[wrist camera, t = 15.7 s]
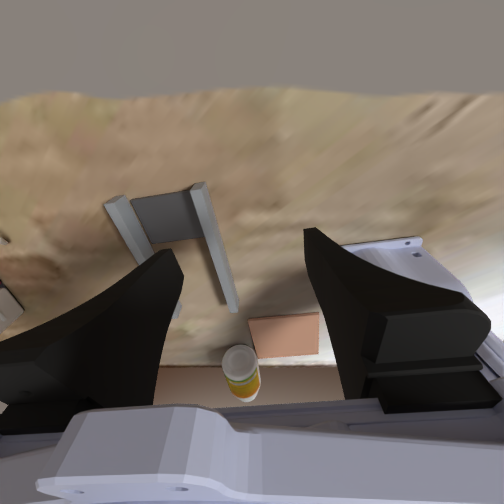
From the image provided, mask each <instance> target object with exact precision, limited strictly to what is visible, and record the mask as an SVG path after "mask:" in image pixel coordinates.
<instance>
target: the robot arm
mask: <svg viewBox="0 0 504 504" xmlns="http://www.w3.org/2000/svg"><path fill="white" fill-rule="evenodd" d="M303 230H304V254H305V263H306V268H307V272H308V276H309V278H310V281H311V284H312V286H313V289H314V291H315V294H316V297H317V299H318V302H319V304H320V307H321V309H322V312H323V315H324V318H325V321H326V325H327V329H328V332H329V336H330V340H331V344H332V348H333V351H334V355H335V359H336V363H337V367H338V371H339V375H340V380H341V384H342V388H343V392H344V397H345V400H337V401H321V402H305V403H291V404H274V405H258V406H243V407H228V408H227V407H226V408H209V407H205V406H201V405H198V404H163V405H153V399H154V392H155V386H156V380H157V374H158V369H159V364H160V359H161V354H162V350H163V346H164V341H165V337H166V334H167V330H168V327H169V324H170V322H171V319H172V316H173V313H174V311H175V308H176V305H177V302H178V300H179V297H180V294H181V290H182V285H183V280H184V275H183V273H182V270H181V268H180V266H179V264H178V262H177V260H176V258H175V255H174V253H173V251H172V249H171V248H170V249H163V250H160V251H158V252H156V253H155V254H154V255H152V256H151V257H149V258H148V259H147V260H146V261H144V262H143V263H142V264H140V265H139V266H138V267H137V268H135V269H134V270H133V271H131V272H130V273H129V274H127V275H126V276H125V277H123V278H122V279H121V280H119V281H118V282H116V283H115V284H114V285H112V286H111V287H109V288H108V289H106V290H105V291H103V292H102V293H100V294H98V295H97V296H95V297H94V298H92V299H90V300H89V301H87V302H85V303H83V304H81V305H80V306H78V307H76V308H74V309H72V310H70V311H69V312H67V313H65V314H63V315H61V316H59V317H57V318H55V319H52V320H50V321H48V322H46V323H44V324H42V325H39V326H37V327H35V328H33V329H30V330H28V331H25V332H23V333H21V334H18V335H16V336H13V337H11V338H9V339H6V340H3V341H1V342H0V401H1V402H3V403H6V404H7V405H8V406H7V408H6V409H5V410H4V411H3V413H2V414H0V504H504V343H503V342H502V341H501V340H500V339H499V338H498V337H497V336H496V335H495V334H494V333H493V332H492V331H490V330H491V321H490V319H489V318H488V316H487V315H486V314H485V313H484V312H483V311H482V310H480V309H479V308H478V307H477V306H476V305H475V304H474V303H473V300H472V298H471V296H470V294H469V292H468V290H467V289H466V287H465V286H464V285H463V284H462V283H461V282H460V281H459V280H458V279H457V278H456V277H455V276H454V275H453V274H452V273H451V272H449V271H448V270H447V269H446V268H445V267H444V266H443V265H442V264H440V263H439V262H438V261H437V260H436V259H435V258H434V257H433V256H431V255H430V254H429V253H428V252H427V251H426V250H425V249H424V248H422V247H421V244H422V241H423V240H422V238H421V237H418V236H417V237H409V238H401V239H393V240H385V241H376V242H368V243H360V244H352V245H344V246H340V245H338V244H337V243H335V242H334V241H333V240H331V239H330V238H329V237H327V236H326V235H325V234H323V233H322V232H321V231H320V230H318V229H317V228H316V227H314V228H307V229H303ZM406 242H407V243H406Z"/></svg>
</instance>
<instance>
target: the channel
mask: <svg viewBox="0 0 504 504" xmlns="http://www.w3.org/2000/svg"><path fill="white" fill-rule="evenodd" d="M130 201H131V203H132V205H133V207H134V209H135V211H136V213H137V215H138V217H139V219H140V221H141V223H142V225H143V227H144V229H145V231H146V233H147V235H148V237H149V239H150V241H151V243H152V244H156V243H163V242H171V241H178V240H185V239H193V238H200V237H205V238H206V241H207V244H208V247H209V250H210V253H211V256H212V259H213V262H214V265H215V268H216V271H217V274H218V277H219V280H220V283H221V286H222V289H223V292H224V295H225V298H226V301H227V304H228V308H229V311H230V313H236V312H238V307H239V298H238V295H237V291H236V288H235V284H234V281H233V277H232V274H231V270H230V267H229V263H228V260H227V256H226V253H225V249H224V246H223V242H222V238H221V235H220V231H219V228H218V224H217V221H216V217H215V214H214V210H213V207H212V203H211V200H210V196H209V193H208V189H207V186H206V182H201V183H195V184H194V186H193V187H192V188H191V190H185V191H179V192H173V193H167V194H160V195H154V196H148V197H142V198H135V199H132V200H130ZM104 206H105V208H106V210H107V211H108V213H109V215H110V217H111V218H112V220H113V222H114V223H115V225H116V227H117V229H118V230H119V232H120V234H121V235H122V237H123V239H124V241H125V242H126V244H127V246H128V247H129V249H130V251H131V252H132V254H133V256H134V258H135V259H136V261H137V263H138V264H139V265H140V264H142V263H143V262H144V261H146V260H147V259H148V258H149V257H151V256H152V255H154V254H155V253H154V251H153V249H152V247H151V245H150V243H149V241H148V239H147V237H146V235H145V233H144V231H143V229H142V227H141V225H140V223H139V221H138V219H137V217H136V216H135V214H134V212H133V210H132V208H131V206H130V204H129V202H128V200H127V198H126V196H125V195H121V196H115V197H114V198H112V199H111V200H109V201H108V202H107V203H105V204H104ZM181 308H182V305H181V303H180V302H179V300H178V302H177V305H176V308H175V311H174V313H173V316H172V319H175V318H178V316H179V313H180V310H181Z"/></svg>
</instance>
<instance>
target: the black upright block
mask: <svg viewBox="0 0 504 504" xmlns="http://www.w3.org/2000/svg"><path fill="white" fill-rule="evenodd" d="M23 312H24V309H23V308H22V306H21V305H20V304H19V303H18V301H17V300H16V299H15V298H14V297H13V295H12V294H11V293H10V292H9V290H8V289H7V288H6V287H5V285H4V284H3V283H2V282H1V281H0V334H1V333H2V332H3V331H4V330H5V329H6V328H7V327H8V326H9V325H10V324H12V323H13V322H14V321H15V320H16V319H17V318H18V317H19V316H20V315H21V314H22V313H23Z"/></svg>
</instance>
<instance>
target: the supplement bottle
mask: <svg viewBox="0 0 504 504" xmlns="http://www.w3.org/2000/svg"><path fill="white" fill-rule="evenodd" d="M222 369H223V372H224V374H225V377H226V380H227V382H228V385H229V388H230V390H231V392H232V394H233V395H234V396H235V397H237V398H239V399H240V400H241V401H243V402H249V401H251V400H253V399H254V398H255V397H256V395H257V393H258V390H259V388H260V383H261V379H260V372H259V367H258V361H257V357H256V354H255V352H254V350H253V349H252V348H250V347H249V346H247V345H235V346H233V347H231V348H230V349H228V350H227V351H226V353H225V354H224V356H223V359H222Z"/></svg>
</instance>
